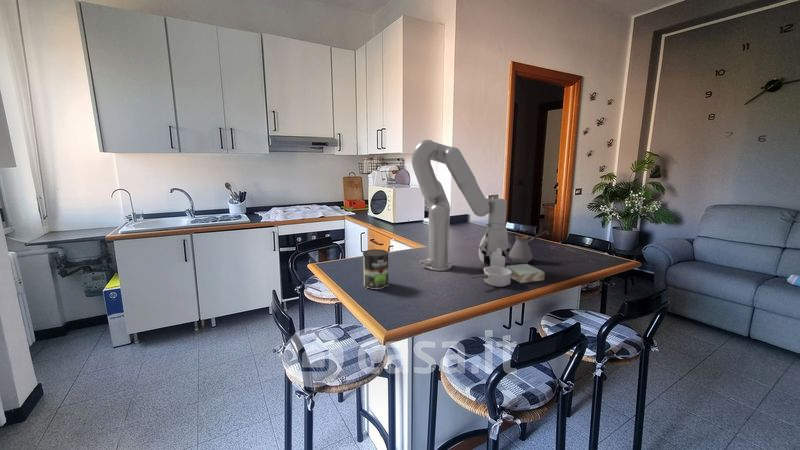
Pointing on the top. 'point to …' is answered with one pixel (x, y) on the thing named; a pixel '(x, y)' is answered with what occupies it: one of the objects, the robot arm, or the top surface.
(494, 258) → the medicine bottle
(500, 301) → the top surface
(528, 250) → the coffee pot
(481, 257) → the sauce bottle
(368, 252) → the coffee can
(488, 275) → the saucepan
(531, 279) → the plinth
